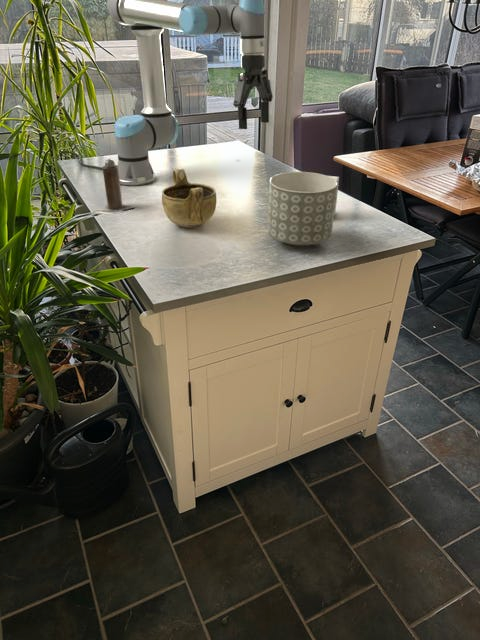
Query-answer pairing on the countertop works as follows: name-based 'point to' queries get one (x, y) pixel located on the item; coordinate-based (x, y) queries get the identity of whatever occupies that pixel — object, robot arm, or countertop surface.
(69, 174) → the countertop surface
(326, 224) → the planter
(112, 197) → the pepper mill
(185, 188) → the ceramic bowl
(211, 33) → the robot arm
